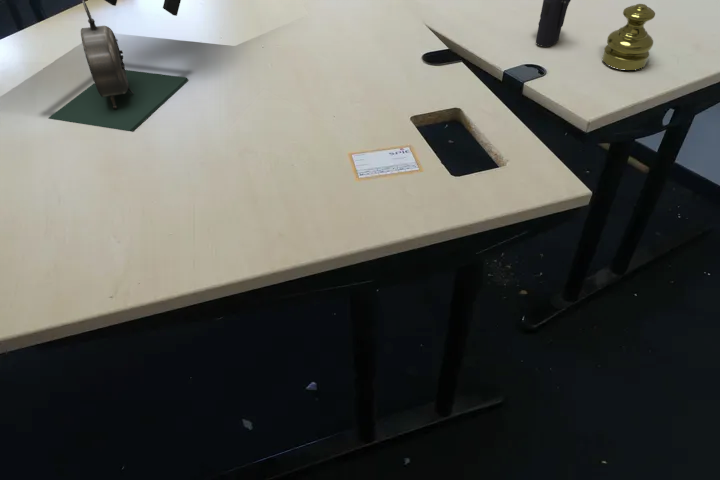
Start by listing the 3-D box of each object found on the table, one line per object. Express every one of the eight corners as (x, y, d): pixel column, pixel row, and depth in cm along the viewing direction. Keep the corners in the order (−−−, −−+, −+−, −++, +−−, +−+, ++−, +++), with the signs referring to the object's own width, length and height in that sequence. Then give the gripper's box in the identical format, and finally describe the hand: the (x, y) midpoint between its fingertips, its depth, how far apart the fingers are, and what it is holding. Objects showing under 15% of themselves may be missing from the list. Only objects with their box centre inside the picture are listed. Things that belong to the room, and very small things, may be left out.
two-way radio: (546, 35, 104) (564, -48, 94) (567, 42, 102) (587, -43, 91) (531, 45, 102) (547, -40, 91) (552, 52, 99) (571, -34, 89)
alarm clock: (104, 85, 96) (65, -8, 85) (134, 79, 97) (100, -14, 86) (106, 115, 89) (64, 17, 77) (139, 108, 90) (102, 10, 78)
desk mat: (49, 121, 89) (47, 118, 89) (114, 71, 101) (113, 68, 101) (130, 133, 85) (129, 130, 85) (188, 80, 97) (187, 77, 97)
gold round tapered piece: (629, 50, 98) (647, -6, 91) (654, 68, 93) (675, 10, 86) (593, 56, 97) (608, 0, 90) (616, 75, 92) (635, 17, 85)
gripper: (242, -97, 90) (210, 26, 91) (128, -106, 98) (100, 7, 99) (217, -129, 83) (182, 5, 84) (96, -135, 91) (66, -13, 92)
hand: (138, 7), depth 91 cm, fingers open, 13 cm apart
